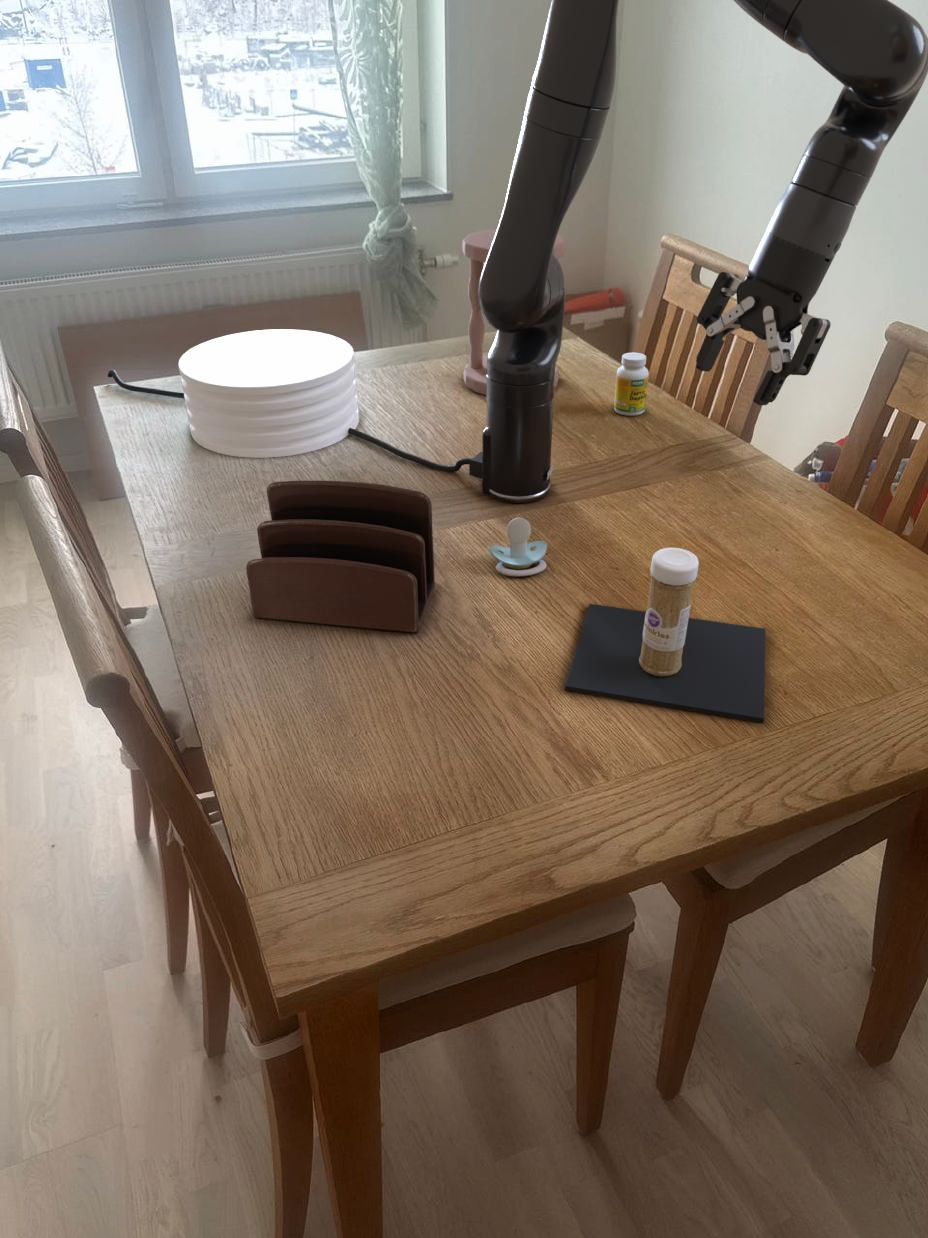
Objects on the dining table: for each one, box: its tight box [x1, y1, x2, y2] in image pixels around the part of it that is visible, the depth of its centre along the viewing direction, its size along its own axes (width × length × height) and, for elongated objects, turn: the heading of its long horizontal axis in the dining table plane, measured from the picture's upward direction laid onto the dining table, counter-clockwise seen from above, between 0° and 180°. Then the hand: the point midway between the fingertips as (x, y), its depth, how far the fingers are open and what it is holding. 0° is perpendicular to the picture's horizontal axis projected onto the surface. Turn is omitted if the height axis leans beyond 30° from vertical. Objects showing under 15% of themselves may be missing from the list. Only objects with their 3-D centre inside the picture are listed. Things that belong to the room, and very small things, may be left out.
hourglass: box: [462, 228, 567, 396], centre depth 163 cm, size 18×18×25 cm
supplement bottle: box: [613, 351, 650, 417], centre depth 156 cm, size 5×5×10 cm
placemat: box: [564, 603, 766, 724], centre depth 100 cm, size 20×16×1 cm
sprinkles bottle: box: [639, 547, 700, 676], centre depth 94 cm, size 5×5×14 cm
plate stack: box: [177, 328, 360, 459], centre depth 152 cm, size 28×28×12 cm
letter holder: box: [245, 479, 436, 634], centre depth 106 cm, size 10×20×14 cm, turn 80°
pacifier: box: [488, 517, 548, 577], centre depth 115 cm, size 7×6×6 cm
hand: (730, 386), depth 103 cm, fingers open, 8 cm apart
